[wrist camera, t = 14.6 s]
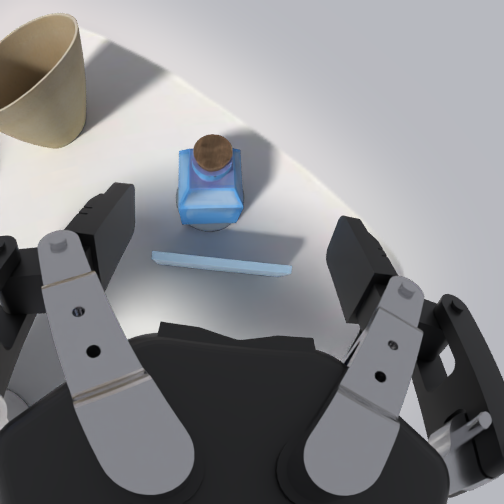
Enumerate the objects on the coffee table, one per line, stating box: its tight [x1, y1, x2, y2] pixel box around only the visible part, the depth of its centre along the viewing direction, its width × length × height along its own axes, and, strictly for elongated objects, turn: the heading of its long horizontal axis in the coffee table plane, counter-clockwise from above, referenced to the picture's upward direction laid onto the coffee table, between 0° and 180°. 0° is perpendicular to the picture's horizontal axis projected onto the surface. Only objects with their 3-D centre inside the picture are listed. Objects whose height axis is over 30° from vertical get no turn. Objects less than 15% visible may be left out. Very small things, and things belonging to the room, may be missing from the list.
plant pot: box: [0, 13, 86, 148], centre depth 26 cm, size 15×15×16 cm
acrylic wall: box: [152, 251, 292, 277], centre depth 32 cm, size 1×14×5 cm, turn 85°
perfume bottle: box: [178, 134, 244, 225], centre depth 29 cm, size 6×6×12 cm
